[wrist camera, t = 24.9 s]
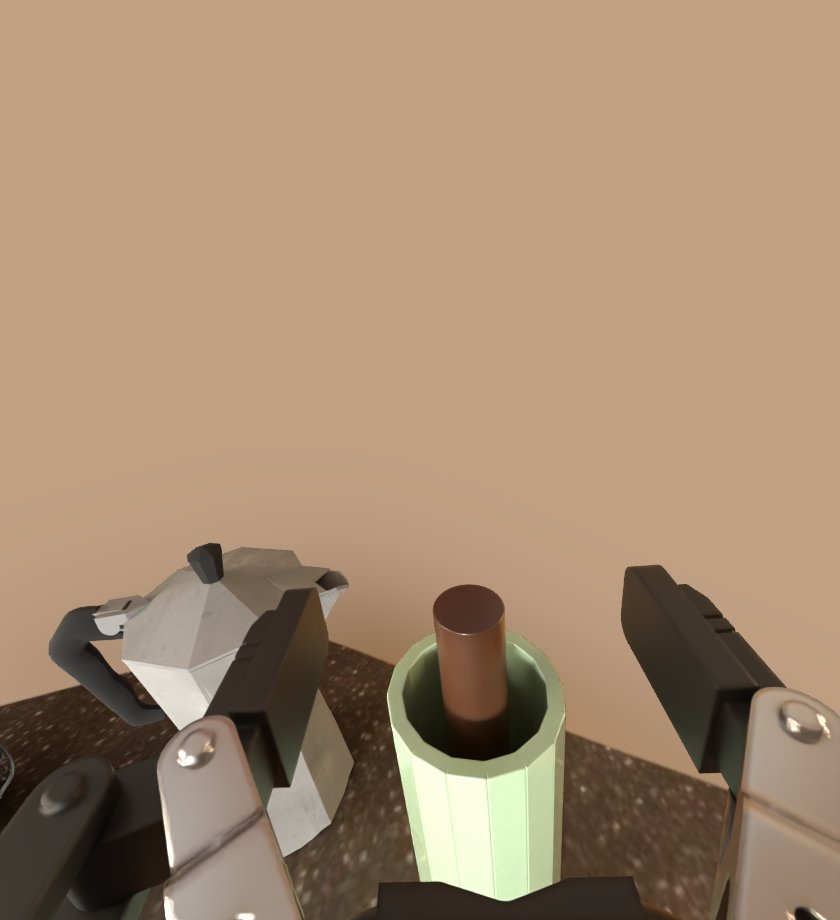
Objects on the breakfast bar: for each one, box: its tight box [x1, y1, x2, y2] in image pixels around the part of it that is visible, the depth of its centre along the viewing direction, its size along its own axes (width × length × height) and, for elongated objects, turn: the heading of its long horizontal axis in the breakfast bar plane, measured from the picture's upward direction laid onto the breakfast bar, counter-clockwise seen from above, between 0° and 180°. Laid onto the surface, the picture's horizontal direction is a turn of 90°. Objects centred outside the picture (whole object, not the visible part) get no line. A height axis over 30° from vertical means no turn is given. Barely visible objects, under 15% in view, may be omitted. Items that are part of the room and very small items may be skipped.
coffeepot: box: [49, 543, 354, 857], centre depth 25 cm, size 15×9×18 cm, turn 98°
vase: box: [387, 630, 566, 901], centre depth 19 cm, size 6×6×15 cm
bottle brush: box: [433, 585, 510, 761], centre depth 18 cm, size 3×3×18 cm
